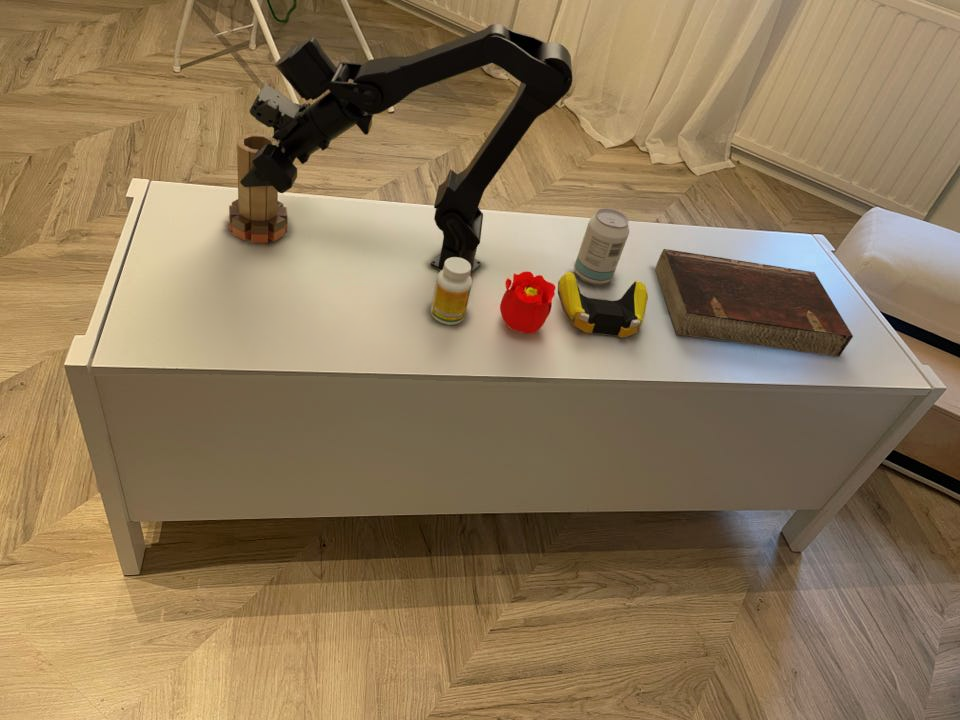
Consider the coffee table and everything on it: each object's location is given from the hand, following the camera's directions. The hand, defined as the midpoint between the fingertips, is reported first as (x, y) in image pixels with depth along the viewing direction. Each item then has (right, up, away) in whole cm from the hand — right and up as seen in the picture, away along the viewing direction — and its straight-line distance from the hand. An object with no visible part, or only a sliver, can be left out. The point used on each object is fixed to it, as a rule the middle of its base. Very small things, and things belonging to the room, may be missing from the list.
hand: (249, 172), depth 121 cm
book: (+82, -21, +15) cm, 86 cm away
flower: (+42, -24, +1) cm, 49 cm away
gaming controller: (+56, -23, +6) cm, 60 cm away
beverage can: (+55, -15, +15) cm, 59 cm away
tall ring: (0, -5, +4) cm, 7 cm away
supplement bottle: (+31, -22, -1) cm, 38 cm away
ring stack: (0, -7, +7) cm, 10 cm away
